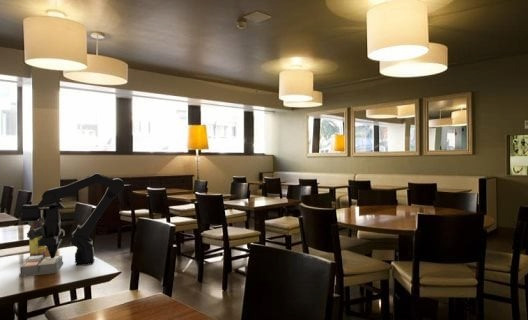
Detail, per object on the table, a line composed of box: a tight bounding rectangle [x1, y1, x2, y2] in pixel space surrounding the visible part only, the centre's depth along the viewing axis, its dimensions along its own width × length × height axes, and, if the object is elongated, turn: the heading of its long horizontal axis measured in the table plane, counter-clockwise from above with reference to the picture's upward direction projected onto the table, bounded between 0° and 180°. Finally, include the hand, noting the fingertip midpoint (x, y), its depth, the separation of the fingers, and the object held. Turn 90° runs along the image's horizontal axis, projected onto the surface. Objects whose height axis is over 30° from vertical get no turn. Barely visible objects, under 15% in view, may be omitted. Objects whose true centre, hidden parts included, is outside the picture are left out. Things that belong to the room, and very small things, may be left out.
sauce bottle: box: [28, 212, 47, 258], centre depth 167 cm, size 7×6×20 cm
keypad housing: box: [19, 255, 64, 278], centre depth 147 cm, size 12×12×4 cm
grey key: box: [27, 255, 44, 262], centre depth 148 cm, size 4×4×2 cm
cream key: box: [41, 258, 57, 265], centre depth 145 cm, size 4×4×2 cm
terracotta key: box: [23, 262, 40, 267], centre depth 143 cm, size 4×4×2 cm
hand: (52, 258), depth 150 cm, fingers closed, pressing on sage key
